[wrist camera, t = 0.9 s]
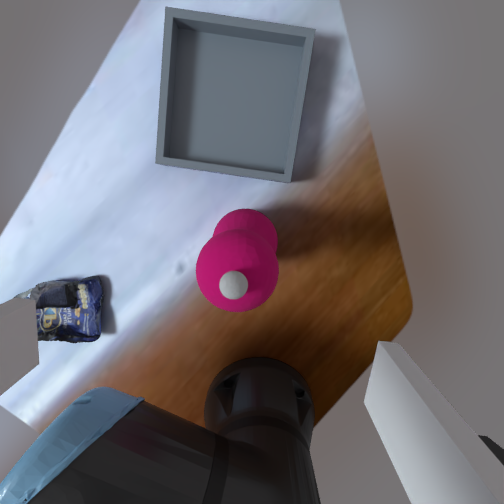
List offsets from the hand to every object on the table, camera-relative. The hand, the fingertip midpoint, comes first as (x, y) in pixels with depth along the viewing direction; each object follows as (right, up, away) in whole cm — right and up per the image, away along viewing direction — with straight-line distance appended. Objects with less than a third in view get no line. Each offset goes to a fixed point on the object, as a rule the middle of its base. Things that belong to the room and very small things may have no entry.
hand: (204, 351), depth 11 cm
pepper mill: (+1, +6, +26) cm, 27 cm away
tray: (0, +20, +22) cm, 30 cm away
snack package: (-23, -3, +29) cm, 37 cm away
